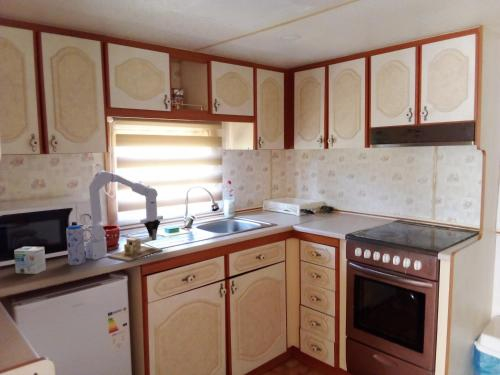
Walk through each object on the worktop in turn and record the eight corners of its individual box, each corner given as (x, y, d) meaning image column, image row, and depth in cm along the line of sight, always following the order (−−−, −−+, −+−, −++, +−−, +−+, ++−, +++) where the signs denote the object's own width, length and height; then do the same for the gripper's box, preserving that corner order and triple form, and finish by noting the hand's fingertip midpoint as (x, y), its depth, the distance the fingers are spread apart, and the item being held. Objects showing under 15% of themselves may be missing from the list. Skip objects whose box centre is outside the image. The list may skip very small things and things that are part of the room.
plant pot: (95, 247, 220) (93, 226, 218) (119, 244, 224) (118, 224, 223) (95, 253, 208) (93, 230, 206) (121, 250, 212) (119, 228, 211)
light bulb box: (15, 273, 177) (13, 250, 176) (26, 268, 183) (24, 246, 182) (36, 274, 175) (34, 250, 174) (46, 269, 182) (44, 246, 180)
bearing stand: (129, 262, 190) (128, 245, 189) (108, 257, 199) (107, 241, 198) (162, 251, 209) (161, 235, 208) (141, 247, 217) (140, 232, 216)
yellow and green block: (135, 245, 202) (135, 234, 201) (131, 244, 203) (131, 233, 203) (156, 239, 214) (156, 228, 213) (152, 239, 215) (152, 228, 215)
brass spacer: (131, 255, 198) (130, 245, 198) (124, 254, 201) (124, 244, 200) (133, 254, 200) (133, 245, 199) (127, 253, 202) (126, 243, 202)
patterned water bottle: (66, 262, 192) (63, 222, 190) (83, 259, 197) (80, 219, 195) (70, 265, 186) (67, 224, 184) (87, 262, 191) (84, 222, 189)
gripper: (146, 212, 203) (147, 238, 205) (166, 208, 215) (167, 232, 217) (137, 211, 207) (138, 236, 209) (157, 207, 219) (158, 231, 221)
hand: (152, 234), depth 213 cm, fingers closed on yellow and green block, 2 cm apart
